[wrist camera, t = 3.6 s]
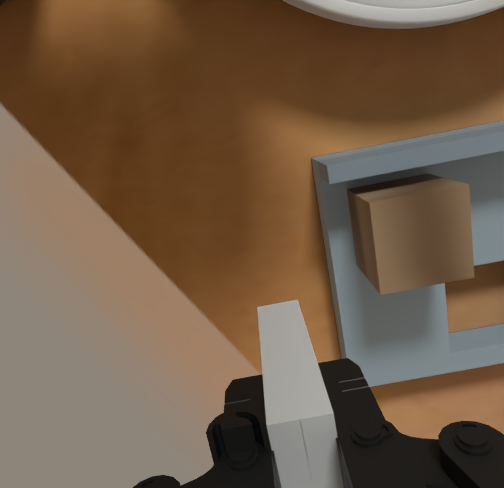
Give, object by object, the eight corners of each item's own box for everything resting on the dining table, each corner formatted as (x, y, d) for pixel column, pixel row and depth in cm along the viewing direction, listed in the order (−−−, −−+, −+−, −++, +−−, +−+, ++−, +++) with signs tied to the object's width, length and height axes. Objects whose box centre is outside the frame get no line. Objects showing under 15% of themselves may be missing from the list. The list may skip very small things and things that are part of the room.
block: (356, 265, 28) (380, 294, 23) (346, 188, 27) (369, 203, 22) (434, 251, 28) (474, 277, 23) (427, 173, 27) (469, 184, 22)
